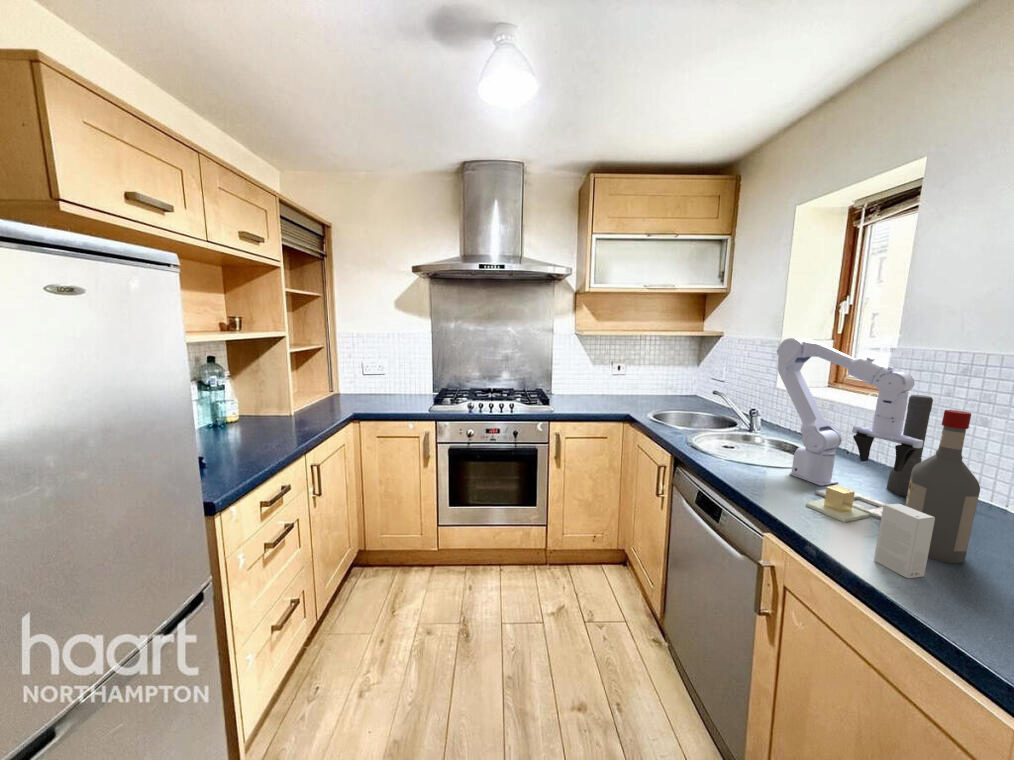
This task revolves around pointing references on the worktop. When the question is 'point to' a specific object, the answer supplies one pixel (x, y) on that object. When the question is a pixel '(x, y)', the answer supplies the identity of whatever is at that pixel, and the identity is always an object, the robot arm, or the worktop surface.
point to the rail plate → (872, 512)
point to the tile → (842, 516)
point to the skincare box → (904, 540)
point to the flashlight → (916, 429)
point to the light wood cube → (839, 498)
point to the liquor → (947, 491)
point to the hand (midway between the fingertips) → (880, 465)
